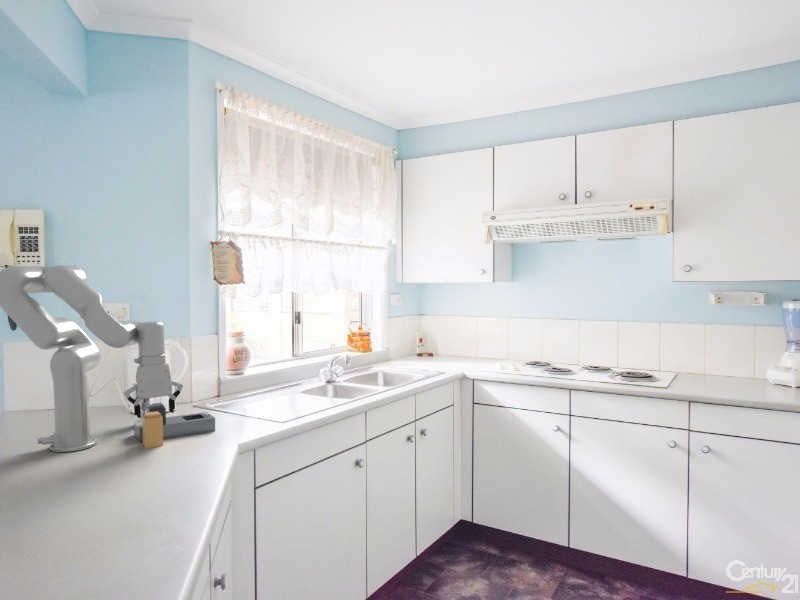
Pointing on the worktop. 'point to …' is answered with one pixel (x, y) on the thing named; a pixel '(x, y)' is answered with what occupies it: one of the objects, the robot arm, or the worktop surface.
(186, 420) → the power strip
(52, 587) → the worktop surface
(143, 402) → the beer glass
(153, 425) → the plug
